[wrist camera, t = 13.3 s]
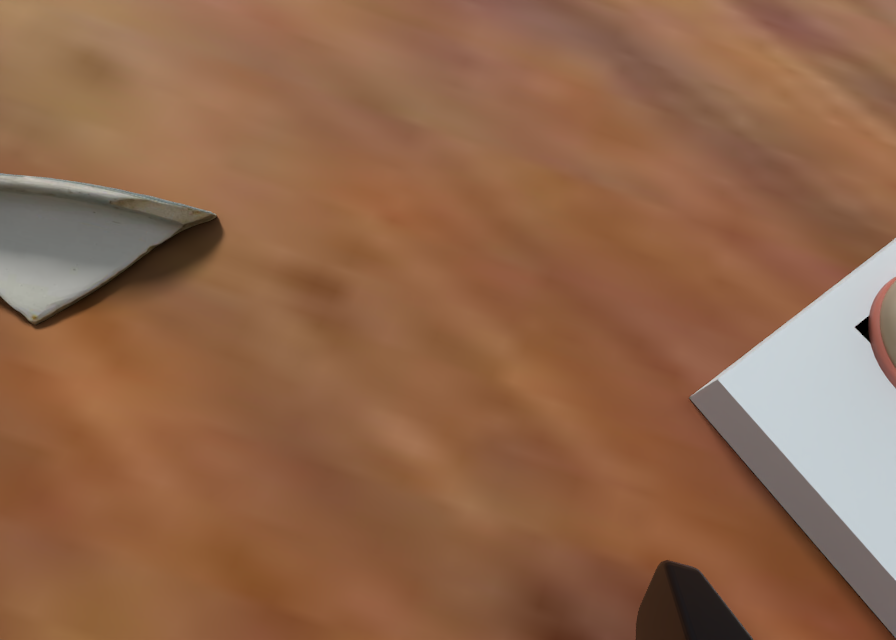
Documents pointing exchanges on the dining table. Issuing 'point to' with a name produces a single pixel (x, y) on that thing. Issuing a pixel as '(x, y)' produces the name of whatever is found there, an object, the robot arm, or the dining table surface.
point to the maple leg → (884, 329)
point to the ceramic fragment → (75, 238)
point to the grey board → (823, 430)
